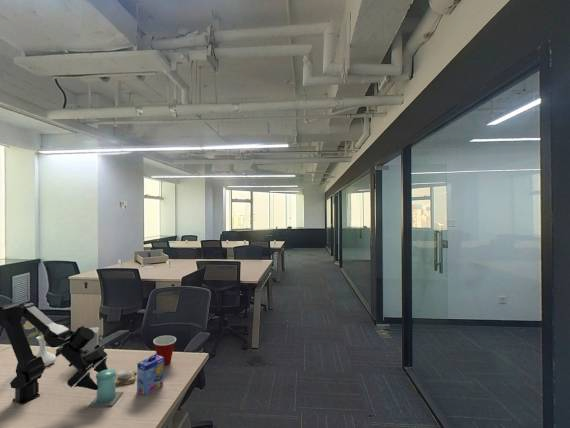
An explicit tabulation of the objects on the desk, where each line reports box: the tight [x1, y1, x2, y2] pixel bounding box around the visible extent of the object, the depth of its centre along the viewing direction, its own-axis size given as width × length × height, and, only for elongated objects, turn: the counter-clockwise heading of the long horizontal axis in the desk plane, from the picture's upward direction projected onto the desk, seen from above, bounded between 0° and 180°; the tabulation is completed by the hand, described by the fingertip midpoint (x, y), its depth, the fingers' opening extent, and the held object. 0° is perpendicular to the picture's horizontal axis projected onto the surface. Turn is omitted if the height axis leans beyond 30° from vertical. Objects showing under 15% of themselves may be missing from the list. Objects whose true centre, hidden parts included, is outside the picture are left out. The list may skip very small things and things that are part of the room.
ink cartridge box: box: [136, 353, 165, 396], centre depth 132 cm, size 10×6×14 cm, turn 152°
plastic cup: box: [153, 335, 177, 367], centre depth 154 cm, size 11×11×12 cm
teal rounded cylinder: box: [95, 368, 117, 403], centre depth 123 cm, size 7×7×10 cm
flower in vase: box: [23, 320, 58, 367], centre depth 153 cm, size 13×11×25 cm
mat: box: [87, 391, 124, 408], centre depth 123 cm, size 9×9×1 cm
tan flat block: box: [115, 369, 137, 387], centre depth 138 cm, size 9×8×3 cm
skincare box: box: [82, 326, 100, 351], centre depth 157 cm, size 8×7×16 cm
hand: (103, 382), depth 123 cm, fingers open, 9 cm apart
